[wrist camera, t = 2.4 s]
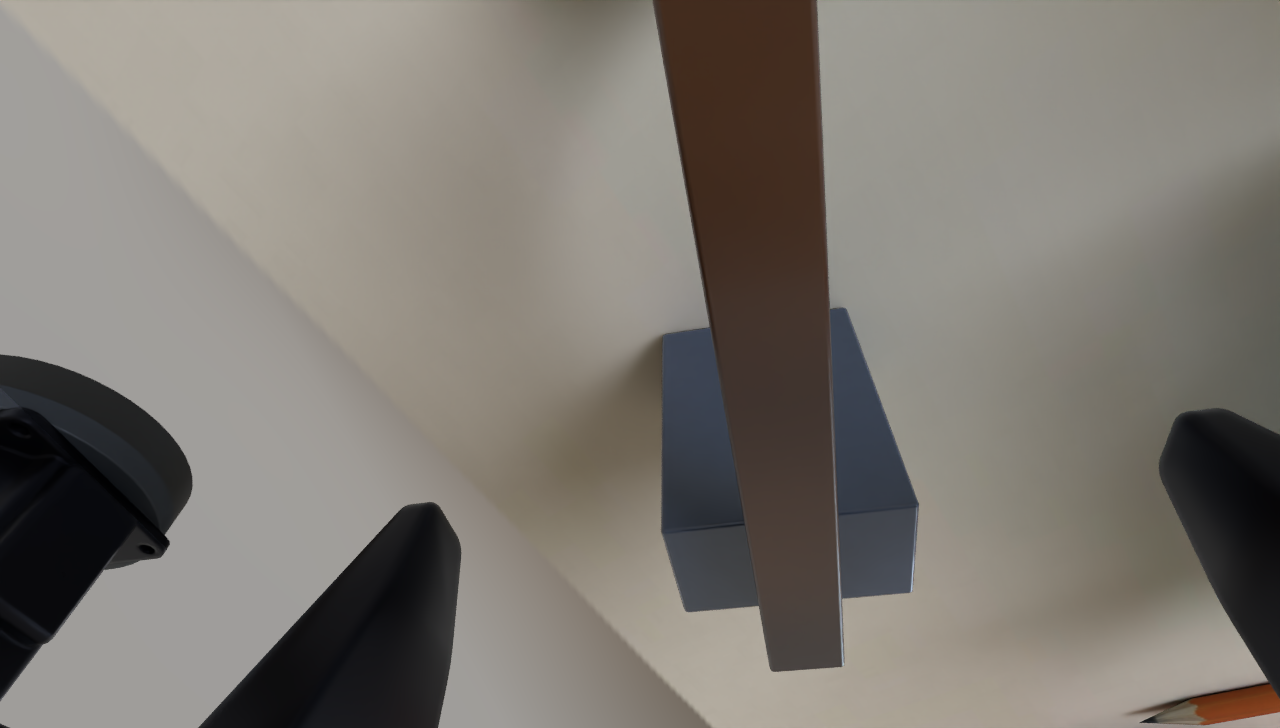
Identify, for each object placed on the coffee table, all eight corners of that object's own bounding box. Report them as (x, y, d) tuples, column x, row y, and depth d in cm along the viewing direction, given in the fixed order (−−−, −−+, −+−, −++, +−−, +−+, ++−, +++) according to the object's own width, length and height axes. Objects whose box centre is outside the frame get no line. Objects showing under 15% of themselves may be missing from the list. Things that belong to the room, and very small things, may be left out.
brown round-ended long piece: (857, 388, 16) (949, 661, 11) (671, 413, 17) (674, 681, 11) (844, -599, 7) (1270, -1592, 2) (459, -468, 8) (84, -987, 3)
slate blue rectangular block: (679, 411, 17) (684, 614, 12) (661, 333, 15) (660, 532, 11) (848, 389, 16) (913, 594, 12) (846, 305, 14) (921, 505, 10)
